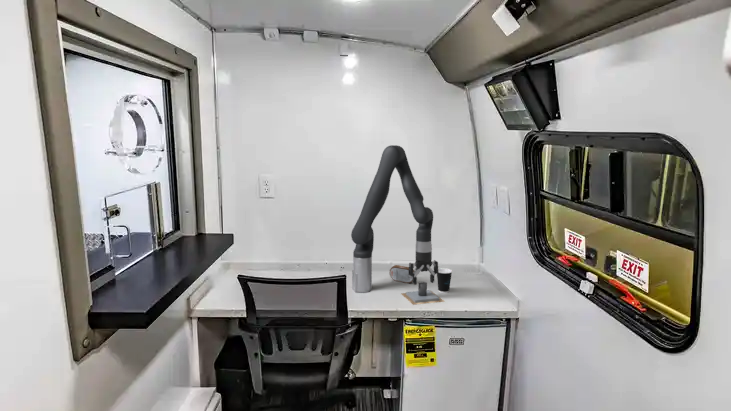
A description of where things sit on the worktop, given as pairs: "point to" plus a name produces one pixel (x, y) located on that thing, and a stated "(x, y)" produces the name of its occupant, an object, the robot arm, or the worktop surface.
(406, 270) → the tin
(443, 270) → the dixie cup
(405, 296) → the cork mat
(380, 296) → the worktop surface
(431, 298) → the lid
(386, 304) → the worktop surface
